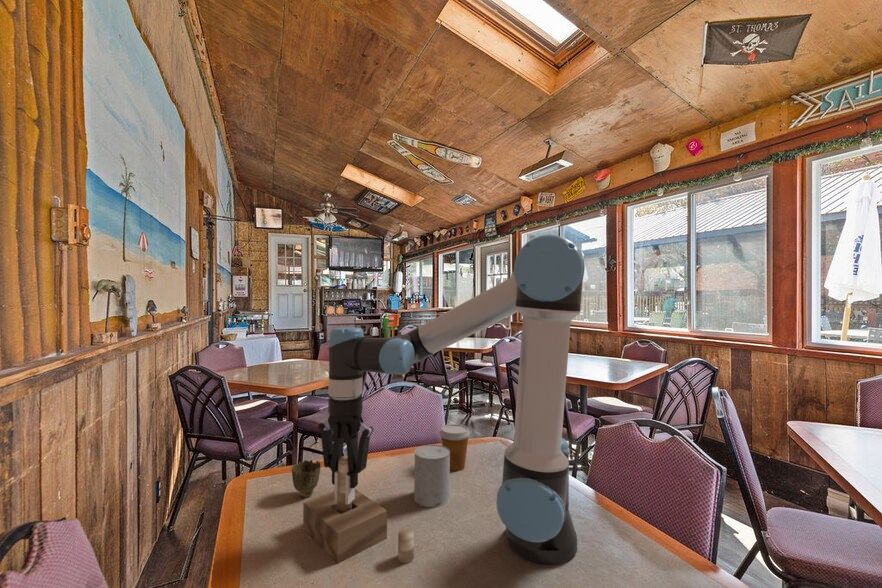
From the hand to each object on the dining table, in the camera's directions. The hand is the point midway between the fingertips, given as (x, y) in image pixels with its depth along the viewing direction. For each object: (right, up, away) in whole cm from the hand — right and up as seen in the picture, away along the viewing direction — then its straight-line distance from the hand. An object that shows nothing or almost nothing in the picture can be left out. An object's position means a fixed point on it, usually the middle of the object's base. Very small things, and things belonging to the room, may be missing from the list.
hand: (344, 499), depth 87 cm
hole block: (0, -7, 0) cm, 7 cm away
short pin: (+15, -7, -8) cm, 18 cm away
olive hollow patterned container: (-15, -8, +16) cm, 23 cm away
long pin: (0, -5, 0) cm, 5 cm away
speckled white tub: (+19, -8, +16) cm, 26 cm away
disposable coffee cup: (+26, -8, +35) cm, 44 cm away
